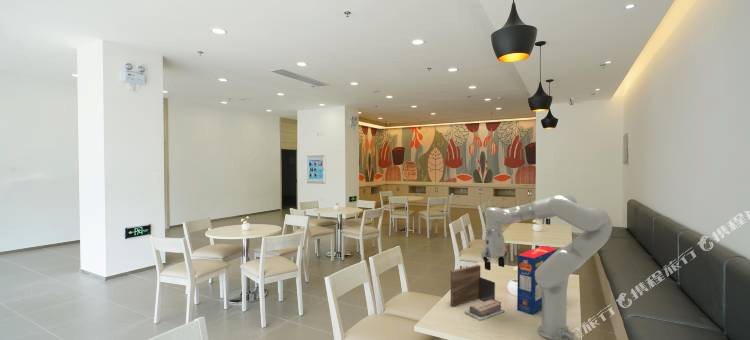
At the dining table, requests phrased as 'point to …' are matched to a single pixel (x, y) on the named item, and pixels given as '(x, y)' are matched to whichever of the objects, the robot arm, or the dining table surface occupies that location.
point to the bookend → (486, 290)
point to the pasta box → (531, 279)
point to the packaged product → (484, 310)
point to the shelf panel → (465, 285)
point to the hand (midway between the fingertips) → (494, 268)
